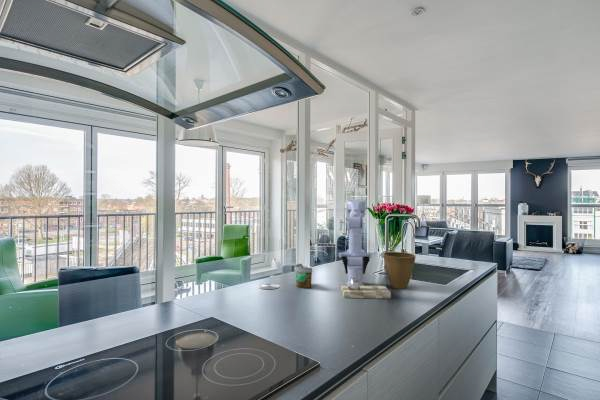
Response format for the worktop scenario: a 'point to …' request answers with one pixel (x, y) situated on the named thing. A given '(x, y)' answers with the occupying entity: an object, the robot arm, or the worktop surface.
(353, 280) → the silver metal cylinder
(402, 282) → the plant pot
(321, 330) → the worktop surface
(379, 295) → the board
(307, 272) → the food container
